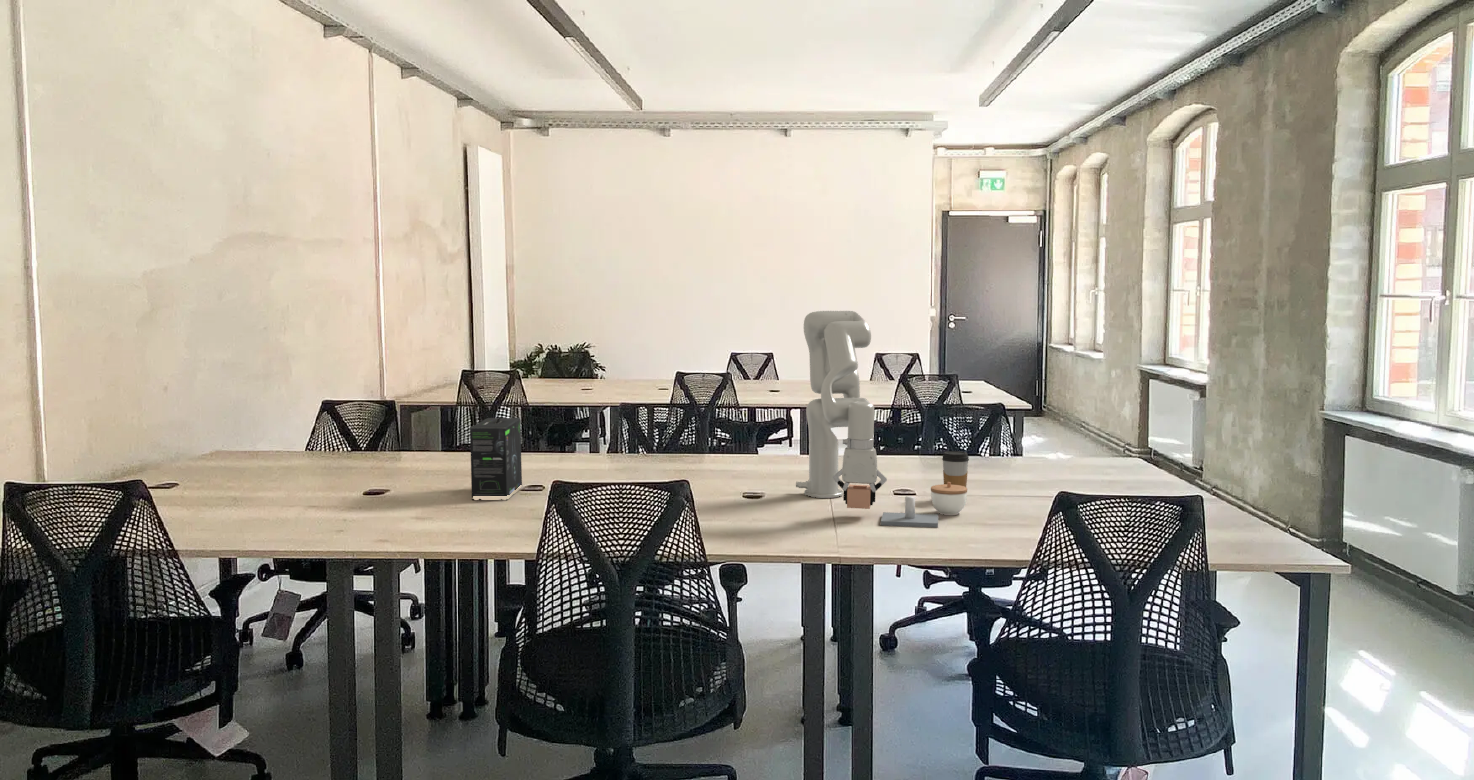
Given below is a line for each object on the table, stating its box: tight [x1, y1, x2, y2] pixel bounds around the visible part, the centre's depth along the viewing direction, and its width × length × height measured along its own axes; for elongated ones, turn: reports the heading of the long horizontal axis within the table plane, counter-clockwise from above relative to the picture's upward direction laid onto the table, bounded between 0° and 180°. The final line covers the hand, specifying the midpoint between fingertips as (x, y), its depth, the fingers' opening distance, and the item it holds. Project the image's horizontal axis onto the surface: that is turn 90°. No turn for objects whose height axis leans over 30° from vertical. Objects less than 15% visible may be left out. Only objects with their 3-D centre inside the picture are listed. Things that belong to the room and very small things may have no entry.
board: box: [880, 495, 939, 528], centre depth 305 cm, size 16×12×7 cm
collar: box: [846, 483, 872, 510], centre depth 311 cm, size 7×7×6 cm
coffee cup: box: [941, 450, 970, 488], centre depth 336 cm, size 8×8×15 cm
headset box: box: [469, 415, 523, 497], centre depth 347 cm, size 22×12×26 cm, turn 179°
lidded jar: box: [930, 482, 968, 516], centre depth 316 cm, size 11×11×9 cm
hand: (859, 503), depth 311 cm, fingers closed on collar, 6 cm apart
